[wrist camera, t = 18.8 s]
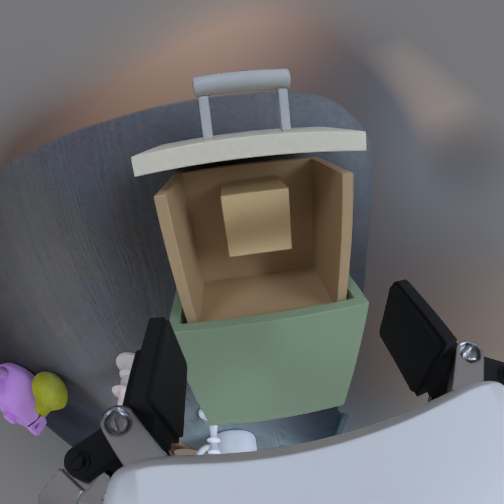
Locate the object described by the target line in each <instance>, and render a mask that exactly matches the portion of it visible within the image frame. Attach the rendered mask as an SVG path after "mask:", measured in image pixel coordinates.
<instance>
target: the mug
mask: <svg viewBox="0 0 504 504" xmlns="http://www.w3.org/2000/svg"><path fill="white" fill-rule="evenodd" d="M217 438H219V439H220V442H219V443H217V444H218V447H219V449H220V451H221V453H220V454H226V453H238V452H248V451H257V446H256V439H255V436H254V435H253V434H252V433H251V432H249V431H246V430H238V429H234V430H226V431H222V432H219V433H218V434H217ZM209 446H210V444H207V445H204V446H202V447H201V448H200V449H199V450H198V452H197V454H196V455H203V454H204V453H205V452H206V451H208V449H209Z"/></svg>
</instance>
